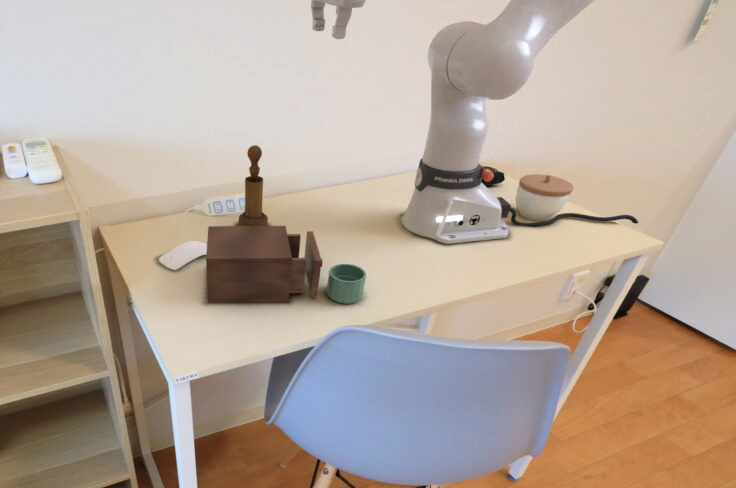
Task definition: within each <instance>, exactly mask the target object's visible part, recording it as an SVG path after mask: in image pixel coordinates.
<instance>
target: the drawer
mask: <svg viewBox="0 0 736 488" xmlns="http://www.w3.org/2000/svg"><path fill="white" fill-rule="evenodd" d="M287 236H288V241H289V246H290V251H291V256H292V263H291V277H290V290H289V294H303V293H304V290H305V289H304V288H305V278H306V280H307V286H308V289H309V294H310V297H318V294H319V287H320V279H321V278H320V277H321V268H323V262H324V261H323V258H321V253H320V251H319V248H318V244H317V241H316V236H315V234H314V231H313V230H308V231H306V235H305V236H306V238H305V246H304V247H305V249H304V257H300V249H301V237H302V236H301V234H300V233H287Z"/></svg>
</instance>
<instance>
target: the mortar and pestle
mask: <svg viewBox="0 0 736 488" xmlns="http://www.w3.org/2000/svg"><path fill="white" fill-rule="evenodd" d="M246 154H247V158H248V160H249V161H250V166H249V168H248V170H249V171H248V172H249V175H250V176H247V177H245V178H244V211H243V212H242V213H240V215H239V216H238V226H269V217H268V215H267V214H265V213H264V212H263V195H264V194H263V192H264V178H263V177H262V176H259V175H260V171H261V167H260V166H259V161H260V160H261V158H262V155H263V150H262V149H261V147H260V146H258V145H255V144H254V145H251V146H250V147H249V148H248V149H247V153H246Z"/></svg>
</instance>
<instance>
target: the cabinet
mask: <svg viewBox="0 0 736 488" xmlns="http://www.w3.org/2000/svg"><path fill="white" fill-rule="evenodd" d="M287 234H288V231H287V226H286V225H268V226H239V225H208V228H207V239H206V240H207V242H206V244H207V253H206V254H205V266H206V267H205V268H206V269H205V270H206V293H207V304H257V303H259V304H260V303H261V304H263V303H264V304H265V303H266V304H267V303H270V304H272V303H273V304H275V303H278V304H279V303H280V304H281V303H284V304H286V303H289V302H290V301H289V300H290V293H289V290H290V277H291V263H292V256H291V251H290V246H289V241H288V236H287Z"/></svg>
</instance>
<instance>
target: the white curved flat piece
mask: <svg viewBox="0 0 736 488" xmlns="http://www.w3.org/2000/svg"><path fill="white" fill-rule="evenodd" d="M206 253H207V242H203V241H201V240H190V241H186V242H184V243H181V244H179V245H177V246H175V247H173V248H172V249H170V250H169V251H167V252H166V253H164V254H163V255H160V256H159V258H158V262H159V263H160V264H161V265H163V266H164V267H166V268H168V269H169V270H172V271H177V270H179V269H181V267H183V266H185V265H186V264H187V263H189V262H191V261H193V260H195V259H196V258H199V257H202V256H206Z"/></svg>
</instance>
